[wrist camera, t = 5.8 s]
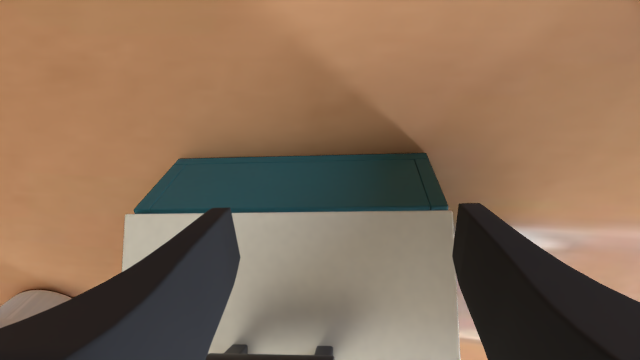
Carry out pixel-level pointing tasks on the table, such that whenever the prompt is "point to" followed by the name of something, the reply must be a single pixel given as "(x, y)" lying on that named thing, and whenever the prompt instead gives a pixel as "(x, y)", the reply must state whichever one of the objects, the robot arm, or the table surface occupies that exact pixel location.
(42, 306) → the ramekin
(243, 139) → the table surface
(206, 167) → the cool box
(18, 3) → the table surface
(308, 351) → the lid
